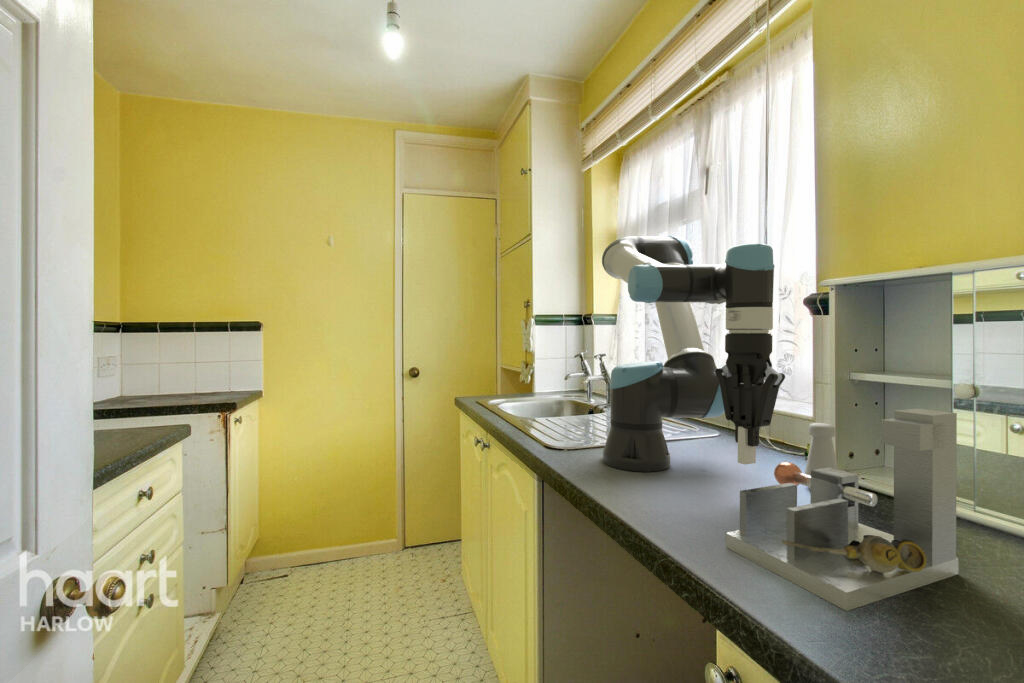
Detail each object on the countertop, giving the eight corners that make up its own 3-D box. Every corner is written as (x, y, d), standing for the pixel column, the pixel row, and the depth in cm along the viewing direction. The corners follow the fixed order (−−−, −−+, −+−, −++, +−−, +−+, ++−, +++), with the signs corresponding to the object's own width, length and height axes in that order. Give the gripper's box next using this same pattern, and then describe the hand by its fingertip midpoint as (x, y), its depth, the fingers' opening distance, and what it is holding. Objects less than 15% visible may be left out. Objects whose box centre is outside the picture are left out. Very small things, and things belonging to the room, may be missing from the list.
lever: (768, 484, 75) (768, 460, 75) (785, 482, 76) (785, 458, 76) (863, 516, 61) (863, 487, 61) (882, 512, 63) (882, 483, 63)
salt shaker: (846, 497, 83) (846, 427, 83) (811, 495, 84) (812, 426, 84) (830, 487, 89) (831, 421, 89) (798, 485, 90) (798, 420, 90)
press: (725, 547, 63) (726, 404, 63) (827, 524, 71) (827, 397, 71) (846, 611, 48) (847, 424, 48) (958, 574, 56) (959, 412, 56)
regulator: (793, 562, 52) (947, 581, 49) (789, 525, 53) (939, 541, 50) (771, 557, 59) (905, 573, 55) (768, 524, 60) (899, 539, 57)
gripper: (704, 331, 85) (703, 455, 86) (765, 332, 73) (763, 475, 74) (734, 331, 88) (732, 451, 89) (797, 332, 76) (795, 470, 77)
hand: (746, 462), depth 81 cm, fingers closed
